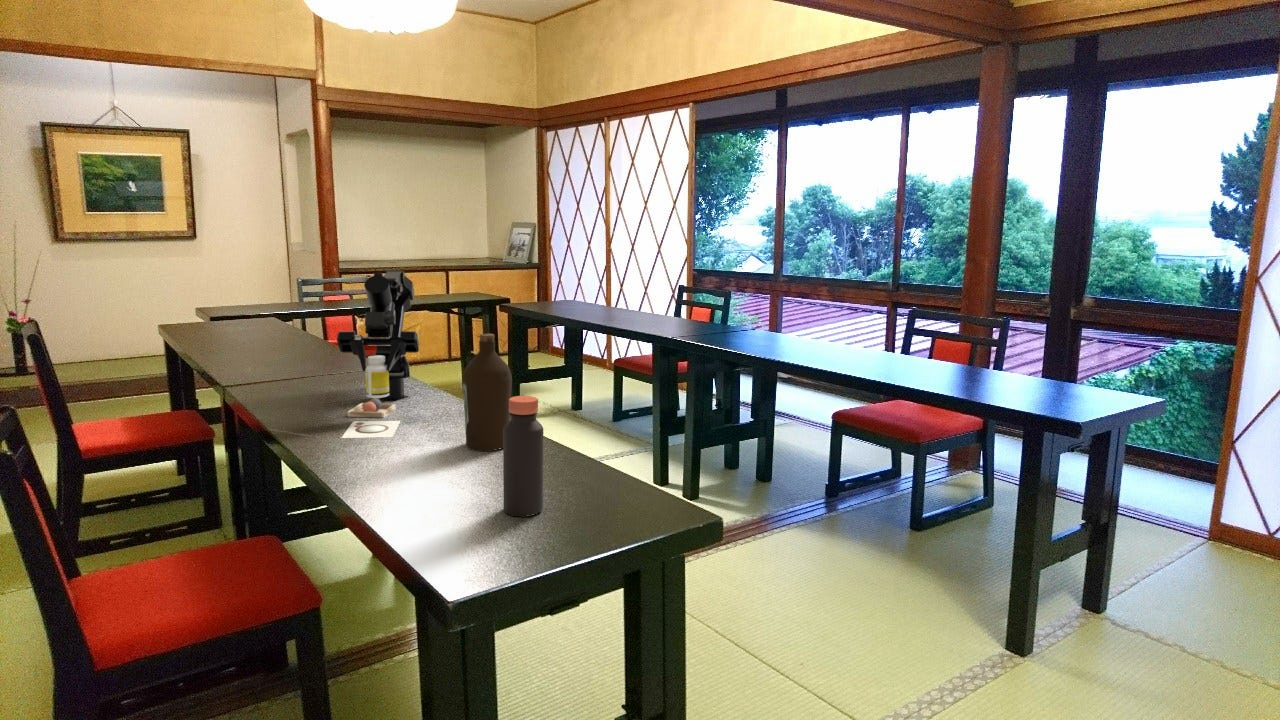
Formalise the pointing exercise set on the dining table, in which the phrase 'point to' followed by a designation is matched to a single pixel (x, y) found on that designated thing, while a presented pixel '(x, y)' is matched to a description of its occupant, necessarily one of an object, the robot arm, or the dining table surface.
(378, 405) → the grey ball
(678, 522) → the dining table surface
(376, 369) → the supplement bottle
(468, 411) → the brown rum bottle
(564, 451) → the dining table surface
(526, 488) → the vinegar
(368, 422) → the card
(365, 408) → the red ball
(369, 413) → the masu tray
